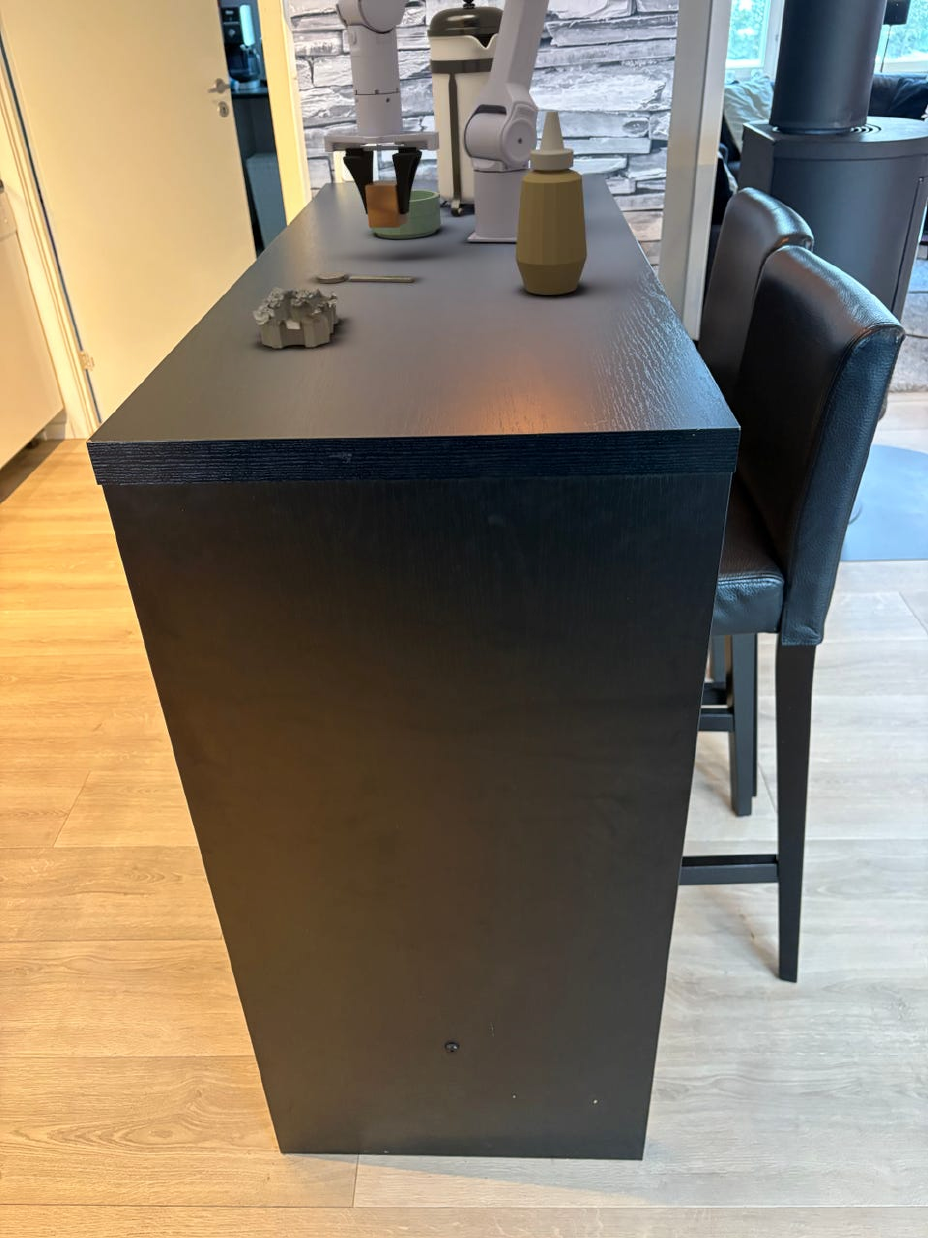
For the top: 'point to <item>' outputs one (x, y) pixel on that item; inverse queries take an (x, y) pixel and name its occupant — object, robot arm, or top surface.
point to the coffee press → (459, 89)
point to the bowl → (417, 217)
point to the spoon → (359, 278)
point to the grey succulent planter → (296, 317)
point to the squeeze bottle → (551, 217)
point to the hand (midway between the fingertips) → (387, 212)
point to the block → (384, 205)
